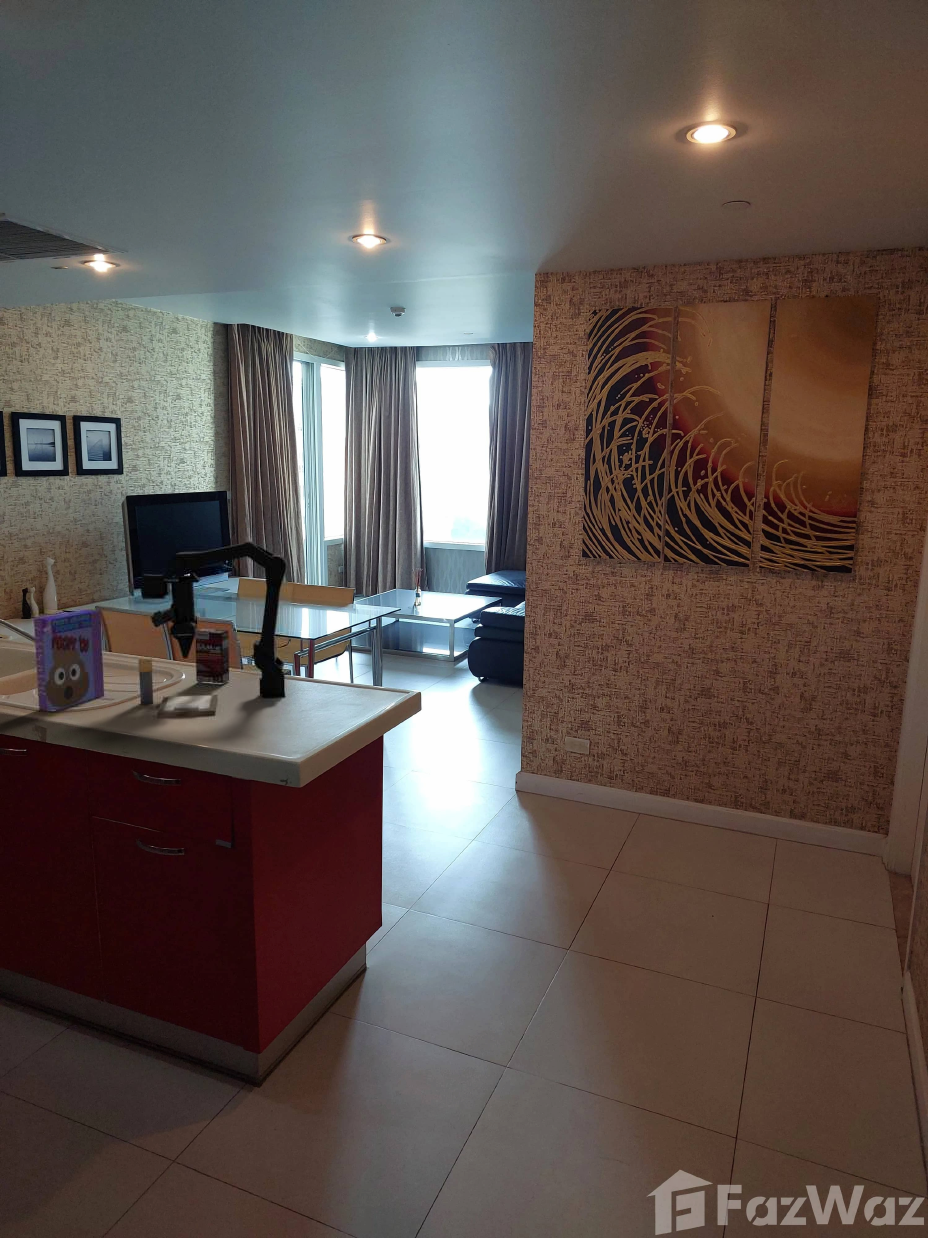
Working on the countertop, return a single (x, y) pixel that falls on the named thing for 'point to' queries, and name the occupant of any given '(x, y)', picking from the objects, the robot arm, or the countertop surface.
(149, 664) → the marker
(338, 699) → the countertop surface
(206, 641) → the supplement box
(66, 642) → the cereal box
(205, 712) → the clipboard
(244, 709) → the countertop surface
